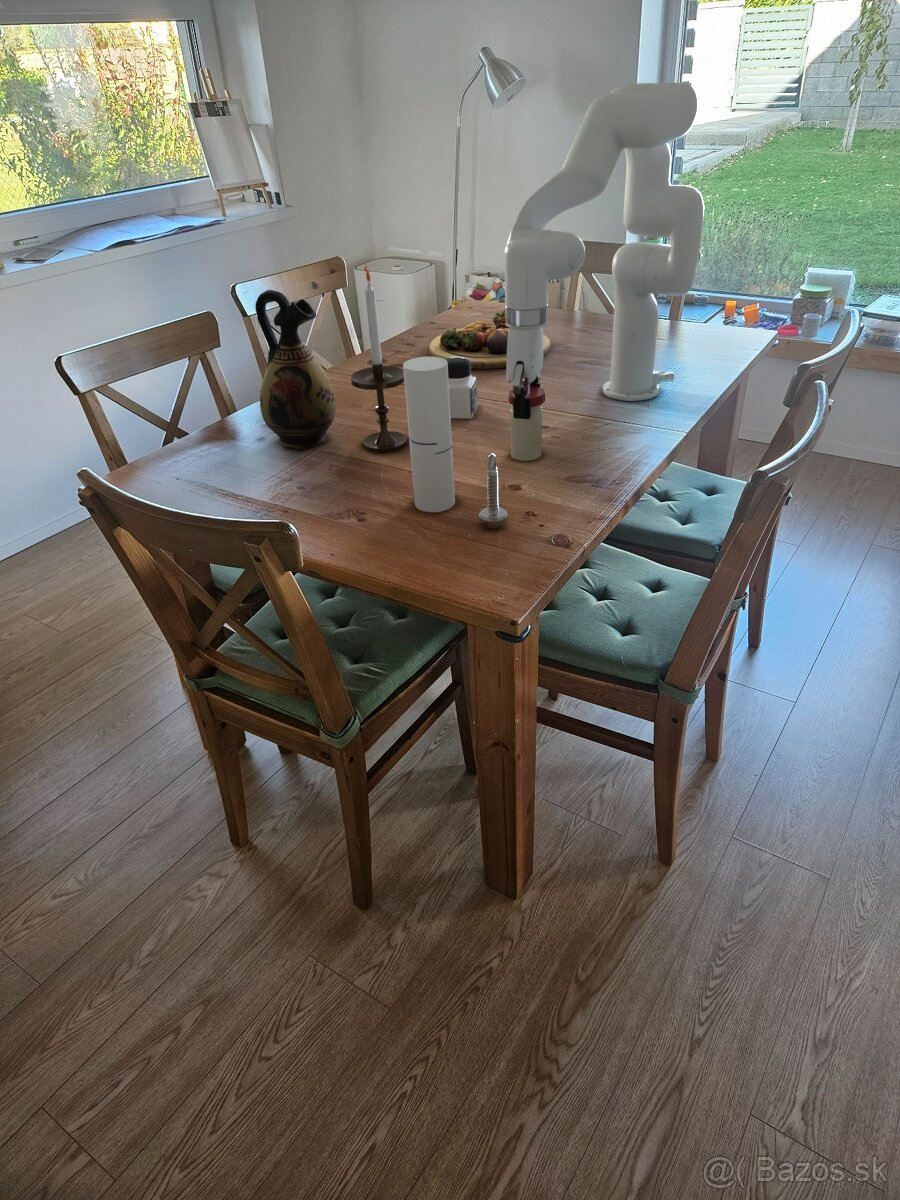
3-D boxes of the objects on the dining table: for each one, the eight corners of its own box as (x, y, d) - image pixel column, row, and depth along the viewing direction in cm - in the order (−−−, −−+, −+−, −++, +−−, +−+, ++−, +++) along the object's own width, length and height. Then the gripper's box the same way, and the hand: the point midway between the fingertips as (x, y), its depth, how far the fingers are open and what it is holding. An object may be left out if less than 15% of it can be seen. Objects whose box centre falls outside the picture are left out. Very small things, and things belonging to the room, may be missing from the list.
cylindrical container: (413, 495, 148) (402, 358, 134) (453, 492, 148) (445, 355, 134) (415, 513, 142) (403, 372, 128) (456, 510, 142) (449, 368, 129)
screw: (513, 523, 137) (495, 535, 135) (491, 515, 140) (473, 526, 137) (513, 451, 130) (494, 462, 127) (489, 445, 133) (470, 455, 130)
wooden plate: (474, 327, 235) (473, 298, 231) (572, 342, 219) (573, 310, 214) (405, 359, 214) (402, 327, 210) (508, 378, 198) (507, 343, 193)
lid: (513, 409, 151) (513, 400, 150) (505, 396, 157) (505, 388, 156) (549, 405, 152) (549, 396, 151) (539, 392, 158) (539, 383, 157)
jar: (536, 446, 163) (537, 393, 157) (545, 458, 158) (546, 404, 152) (507, 450, 162) (506, 397, 156) (515, 462, 158) (515, 407, 151)
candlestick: (352, 440, 171) (330, 262, 151) (400, 429, 174) (385, 255, 155) (368, 458, 163) (347, 273, 143) (419, 447, 166) (405, 265, 146)
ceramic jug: (352, 428, 176) (334, 283, 159) (320, 458, 164) (297, 304, 147) (282, 422, 181) (258, 281, 164) (246, 450, 169) (216, 300, 152)
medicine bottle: (471, 419, 177) (469, 364, 170) (439, 418, 178) (436, 364, 172) (477, 407, 183) (475, 354, 176) (446, 406, 184) (443, 353, 178)
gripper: (518, 301, 153) (519, 393, 163) (492, 328, 140) (495, 427, 150) (557, 302, 151) (556, 395, 161) (535, 330, 138) (535, 430, 148)
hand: (527, 410), depth 156 cm, fingers closed on lid, 6 cm apart
